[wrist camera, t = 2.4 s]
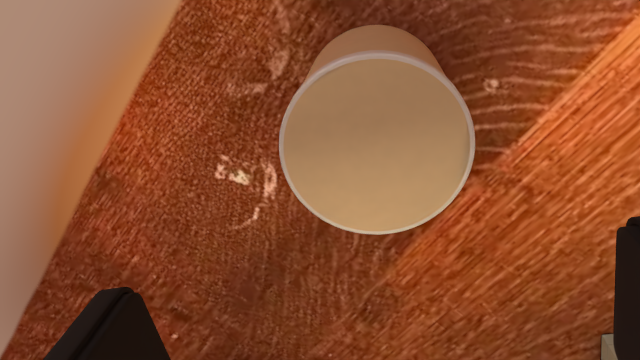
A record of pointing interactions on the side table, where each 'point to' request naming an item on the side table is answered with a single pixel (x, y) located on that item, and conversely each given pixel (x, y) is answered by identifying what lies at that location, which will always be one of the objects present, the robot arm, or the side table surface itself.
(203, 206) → the side table surface
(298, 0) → the side table surface
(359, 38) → the paper cup
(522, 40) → the side table surface
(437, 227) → the side table surface
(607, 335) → the bin
